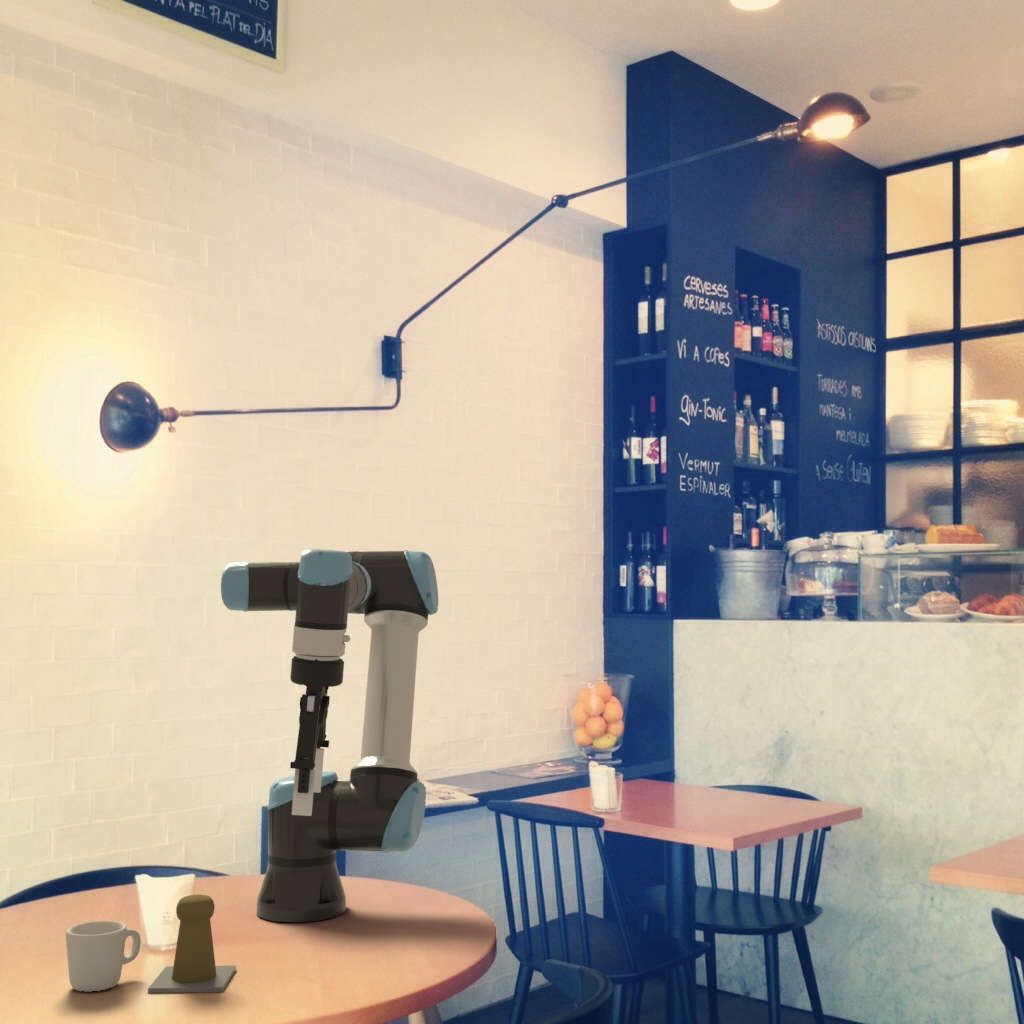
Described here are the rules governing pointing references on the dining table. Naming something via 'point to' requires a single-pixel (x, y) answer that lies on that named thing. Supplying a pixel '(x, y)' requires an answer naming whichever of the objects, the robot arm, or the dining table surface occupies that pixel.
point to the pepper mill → (194, 940)
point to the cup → (98, 954)
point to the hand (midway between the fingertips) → (306, 803)
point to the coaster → (168, 985)
